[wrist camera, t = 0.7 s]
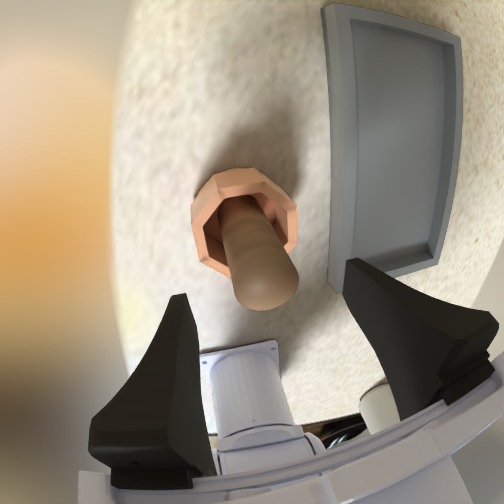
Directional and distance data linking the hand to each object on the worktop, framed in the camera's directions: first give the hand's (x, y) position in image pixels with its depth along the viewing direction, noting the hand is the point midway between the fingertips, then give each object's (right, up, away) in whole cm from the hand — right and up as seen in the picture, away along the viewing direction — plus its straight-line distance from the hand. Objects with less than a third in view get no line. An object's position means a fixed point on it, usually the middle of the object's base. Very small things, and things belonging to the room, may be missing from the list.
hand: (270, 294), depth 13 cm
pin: (-2, +4, +7) cm, 9 cm away
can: (+20, -22, +30) cm, 43 cm away
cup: (-2, +5, +8) cm, 9 cm away
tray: (+11, +10, +7) cm, 16 cm away
